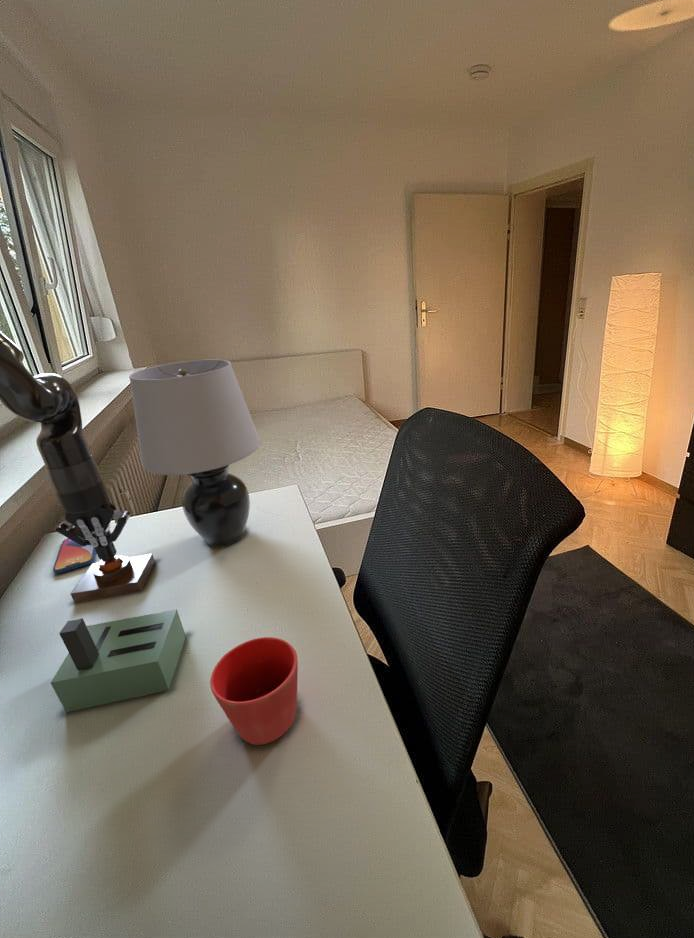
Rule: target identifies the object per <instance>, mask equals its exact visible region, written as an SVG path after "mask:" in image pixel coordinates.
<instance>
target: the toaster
mask: <svg viewBox="0 0 694 938" xmlns="http://www.w3.org/2000/svg"><path fill="white" fill-rule="evenodd" d="M86 626H87V629H88V631H89V633H90V635H91V637H92V640H93V642H94V644H95V646H96V648H97V650H98V653H99V656H98V658H97V660H96V662H95V664H94V666H93V667H92V668H87V669H82V670H77V668H76V666H75V664H74V662H73V660H72V658H71V656H70V654H69V652H67V653H68V654H67V655H66V657H64V660H63V661H62V663H61V665H60V666H59V668H58V670H57V672H56V673H55V674H54V676H53V678H52V680H51V681H50V685H51V687H52V689H53V691H54V692H55V694H56V696H57V698H58V700H59V702H60V703H61V705H62V707H63V709H64V711H65V713H69V712H74V711H78V710H83V709H87V708H92V707H97V706H103V705H107V704H112V703H117V702H121V701H126V700H130V699H134V698H139V697H143V696H144V697H145V696H148V695H154V694H158V693H162V692H167V691H170V688H171V685H172V682H173V679H174V676H175V672H176V669H177V666H178V663H179V659H180V656H181V653H182V650H183V647H184V645H185V641H186V637H187V635H186V631H185V629H184V625H183V623H182V621H181V618H180V615H179V612H178V609H172V610H166V611H160V612H154V613H149V614H144V615H139V616H133V617H128V618H123V619H116V620H112V621H107V622H100V623H96V624H90V625H86Z"/></svg>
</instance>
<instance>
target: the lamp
mask: <svg viewBox="0 0 694 938" xmlns="http://www.w3.org/2000/svg"><path fill="white" fill-rule="evenodd" d="M236 376H237V375H236V374H235V370H234V369H233V366H232V362H231V361H230V360H226V359H216V358H215V359H211V358H210V359H207V358H206V359H193V360H184V361H176V362H170V363H164V364H159V365H154V366H149V367H146V368H143V369H140V370H139V369H138V370H137V371H134V372H132V373H130V374H129V376H128V379H129V382H130V383H129V384H130V388H131V396H132V404H133V411H134V418H135V425H136V431H137V433H136V434H137V439H138V446H139V455H140V460H141V461H140V462H141V463H140V464H141V468H143V470H144V471H146V472H148V473H150V474H154V475H161V476H182V475H187V476H188V477H189V478H190V480H191V482H190V483H189V484H188V485H187V487H186V488H185V490H184V491H183V494H182V496H181V504H182V510H183V513H184V515H185V518H186V521H188V523H189V525H190V526H191V527H192V529H193V530H194V531H195V532H196V533H197V534H198V535H199V536H200V537H202V538H203V539H204V540H205V542H206V544H208V545H209V546H211V547H224V546H229V545H232V544H234V543H236V542H238V541H239V540H241V539H242V538H243V537H244V536H245V534H246V533H245V532H246V526H247V523H248V519H249V516H250V509H251V500H250V494H249V490H248V488H247V485H246V483H245V482H244V481H243V480H242V479H241V478H239V477H238V476H237V475H234V474H233V473H229V466H230V465H232V464H234V463H238V462H239V461H242V460H244V459H246V458H247V457H249V456H250V455H252V454H254V453H255V452H256V451H257V450H258V449H259V447H260V446H261V438H260V437H259V434H258V431H257V429H256V426H255V424H254V421H253V418H252V415H251V413H250V410H249V408H248V405H247V402H246V400H245V397H244V396H243V395H244V394H243V392H242V390H241V387H240V384H239V382H238V378H237V377H236Z"/></svg>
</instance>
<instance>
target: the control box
mask: <svg viewBox="0 0 694 938" xmlns="http://www.w3.org/2000/svg"><path fill="white" fill-rule="evenodd" d="M118 556H119V558H120V560H121V563H122V564H121V566H119V567H118V568H116V569H114V570H111V571H107V572H102V571H101V568H100V566H99V561H98V562H92V563H90V565H89V567H88V569H87V570H86V571H85V573H84V574H83V576H82V577H81V578H80V579H79V581H78V583H77V584H76V585H75V587H74V588H73V589H72V591H71V592H70V596H71V598H72V600H73V603H80V602H87V601H91V600H92V601H93V600H97V599H102V598H107V597H108V598H109V597H113V596H118V595H125V594H130V593H136V592H141V591H142V589H143V586H144V584H145V583H146V580H147V579H148V577H149V575H150V573H151V570H152V569H153V567H154V565H155V563H156V560H155V556H154V554H153V553H146V554H141V555H135V556H126V555H118Z"/></svg>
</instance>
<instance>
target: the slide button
mask: <svg viewBox="0 0 694 938" xmlns="http://www.w3.org/2000/svg"><path fill="white" fill-rule="evenodd" d="M87 626H88V625H87V624H86V623H85V620H84V618H78V619H77V618H76V619H73V620H68V621H66V622H65V624H64V626H63V627H62V629H61V630H60V632H59V633H58V634H59V636H60V638H61V640H62V642H63V645H64V646H65V648H66V650H67V653H69V654H70V656H71V658H72V660H73V662H74V664H75V666H76V668H77V670H82V669H87V668H92V667H93V666H94V664H95V662H96V660H97V658H98V656H99V653H98V650H97V648H96V646H95V644H94V642H93V640H92V637H91V635H90V633H89V631H88V629H87Z"/></svg>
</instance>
